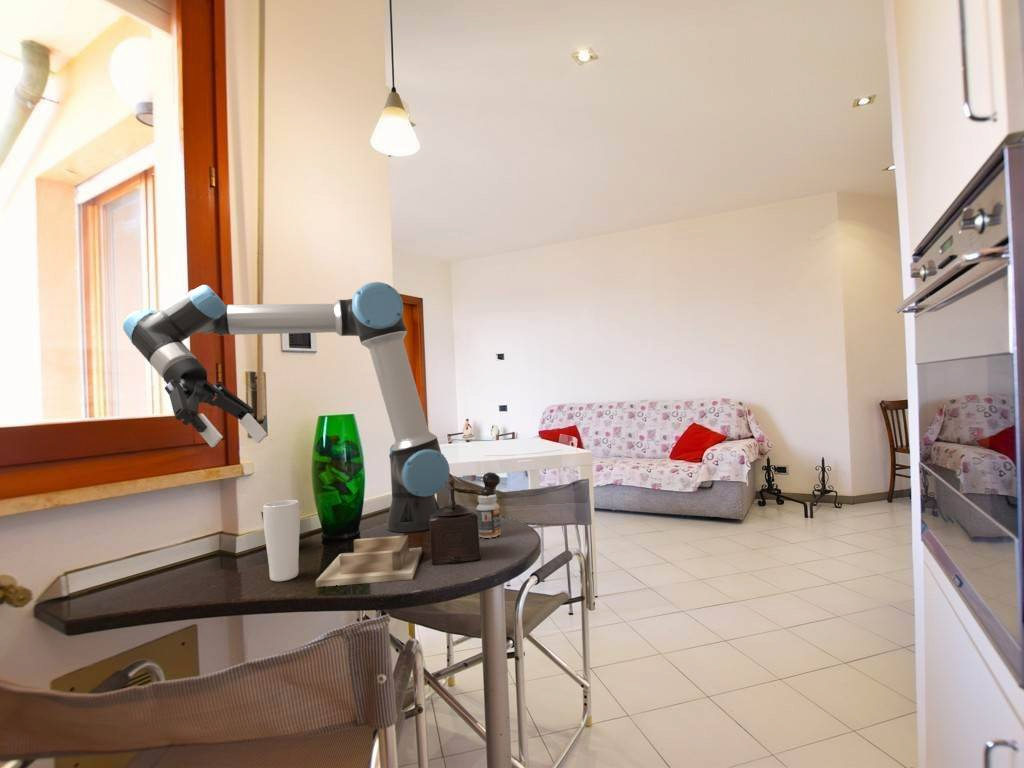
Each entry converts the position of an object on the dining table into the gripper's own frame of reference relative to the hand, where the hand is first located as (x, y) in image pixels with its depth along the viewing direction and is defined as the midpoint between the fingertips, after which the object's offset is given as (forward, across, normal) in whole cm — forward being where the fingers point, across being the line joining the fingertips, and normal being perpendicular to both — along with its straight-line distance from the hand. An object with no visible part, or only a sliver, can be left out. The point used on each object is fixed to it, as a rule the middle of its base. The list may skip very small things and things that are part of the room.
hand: (241, 440), depth 109 cm
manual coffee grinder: (+49, -15, +13) cm, 53 cm away
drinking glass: (+27, -1, -12) cm, 29 cm away
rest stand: (+38, -6, 0) cm, 38 cm away
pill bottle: (+50, -31, +15) cm, 60 cm away
